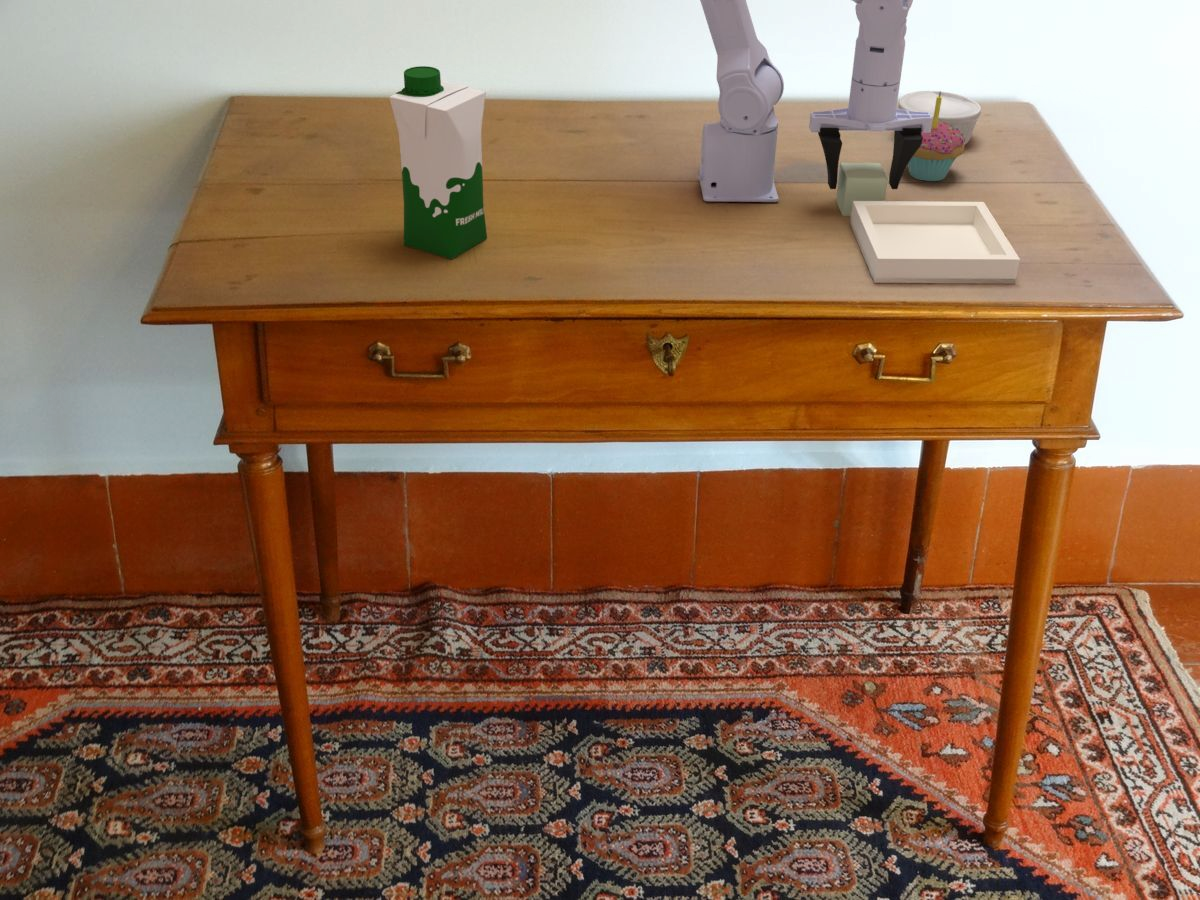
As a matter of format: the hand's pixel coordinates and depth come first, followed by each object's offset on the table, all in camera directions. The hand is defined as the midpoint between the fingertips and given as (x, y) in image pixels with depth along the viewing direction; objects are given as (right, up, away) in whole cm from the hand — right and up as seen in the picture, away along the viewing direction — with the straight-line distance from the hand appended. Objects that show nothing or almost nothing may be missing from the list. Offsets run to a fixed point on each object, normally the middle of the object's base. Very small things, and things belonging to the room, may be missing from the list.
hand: (862, 186), depth 168 cm
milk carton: (-51, -8, -9) cm, 52 cm away
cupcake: (+11, +4, +11) cm, 16 cm away
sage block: (0, -2, +2) cm, 3 cm away
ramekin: (+14, +11, +22) cm, 28 cm away
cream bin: (+6, -10, -9) cm, 15 cm away
